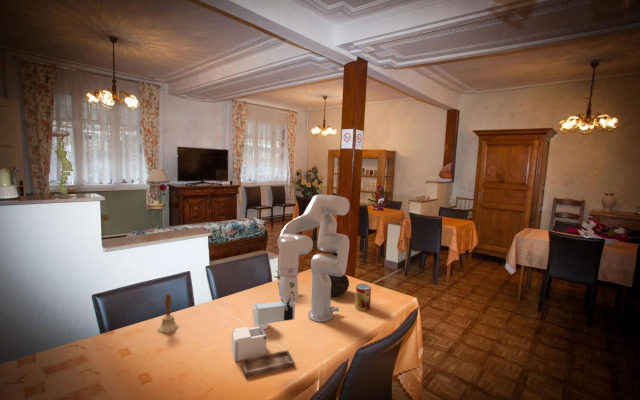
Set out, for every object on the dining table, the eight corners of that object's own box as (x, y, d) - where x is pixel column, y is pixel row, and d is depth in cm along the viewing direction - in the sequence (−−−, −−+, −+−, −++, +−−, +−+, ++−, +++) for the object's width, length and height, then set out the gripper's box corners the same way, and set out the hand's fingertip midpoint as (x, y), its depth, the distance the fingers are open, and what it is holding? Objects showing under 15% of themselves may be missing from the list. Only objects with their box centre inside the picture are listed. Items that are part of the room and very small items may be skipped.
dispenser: (261, 344, 129) (262, 324, 128) (266, 355, 122) (266, 333, 121) (231, 350, 125) (232, 329, 124) (234, 361, 117) (235, 339, 116)
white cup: (265, 331, 139) (266, 310, 138) (249, 329, 141) (249, 308, 140) (272, 323, 147) (272, 303, 146) (256, 321, 148) (256, 301, 147)
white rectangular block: (291, 314, 123) (291, 300, 122) (294, 319, 119) (294, 304, 119) (255, 319, 117) (256, 304, 117) (257, 324, 114) (258, 308, 113)
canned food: (368, 312, 162) (369, 290, 160) (353, 309, 164) (354, 287, 163) (371, 306, 169) (372, 285, 168) (356, 303, 172) (357, 282, 170)
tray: (287, 354, 123) (287, 349, 123) (294, 366, 116) (294, 361, 116) (241, 364, 116) (241, 359, 116) (245, 377, 109) (245, 372, 108)
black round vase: (320, 286, 195) (322, 242, 192) (349, 288, 193) (351, 244, 190) (316, 297, 178) (318, 249, 175) (347, 300, 175) (350, 252, 172)
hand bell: (182, 326, 141) (182, 292, 140) (166, 335, 134) (166, 299, 132) (169, 322, 145) (169, 288, 143) (153, 330, 137) (152, 295, 135)
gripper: (305, 276, 113) (303, 325, 114) (290, 263, 128) (289, 307, 129) (285, 278, 110) (283, 328, 111) (273, 265, 125) (271, 309, 126)
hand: (286, 316), depth 120 cm, fingers closed on white rectangular block, 4 cm apart
